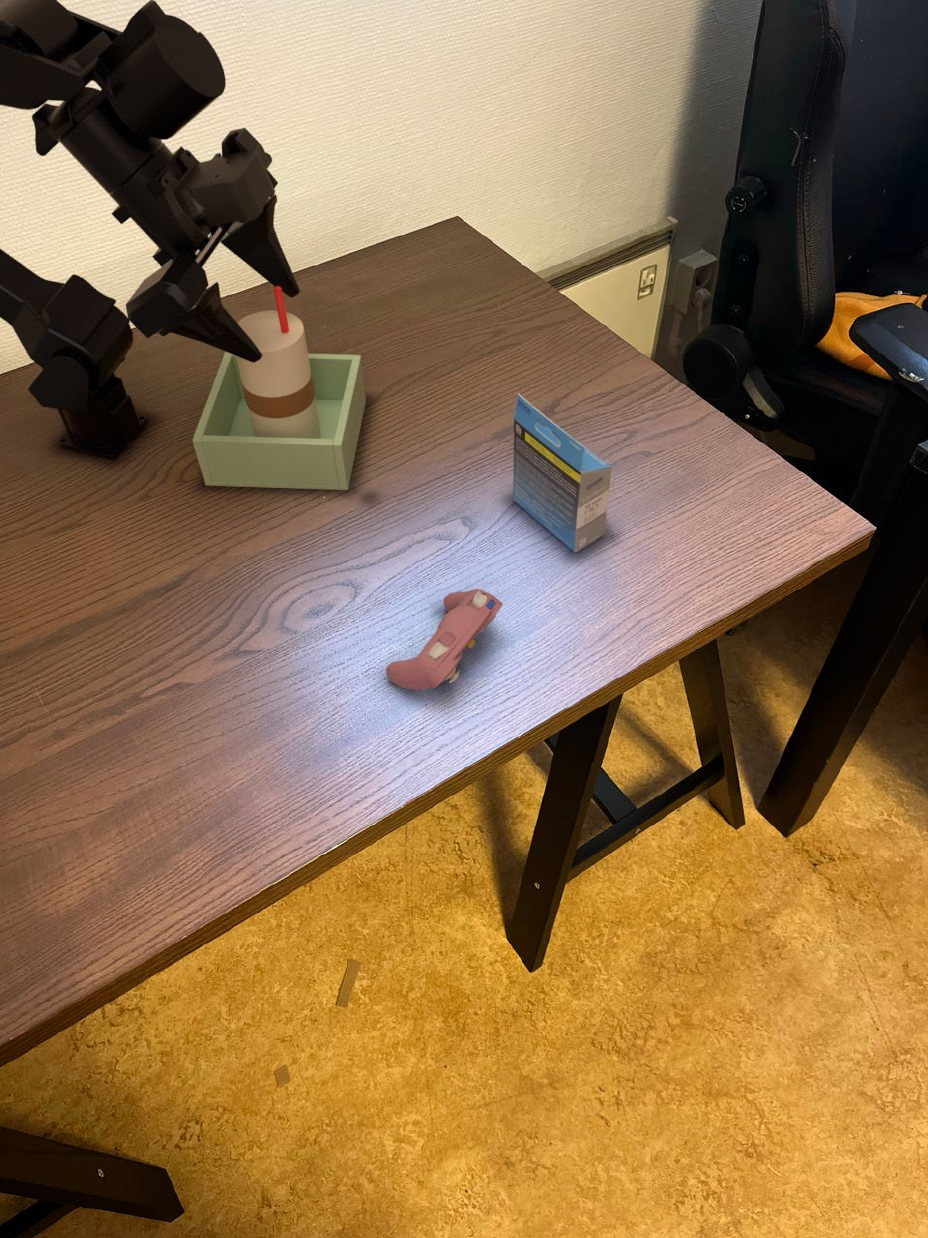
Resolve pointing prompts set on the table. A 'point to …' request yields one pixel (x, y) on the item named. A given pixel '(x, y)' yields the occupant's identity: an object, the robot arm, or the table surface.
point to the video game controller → (447, 641)
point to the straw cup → (279, 375)
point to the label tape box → (558, 479)
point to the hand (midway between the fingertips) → (277, 326)
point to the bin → (283, 461)
